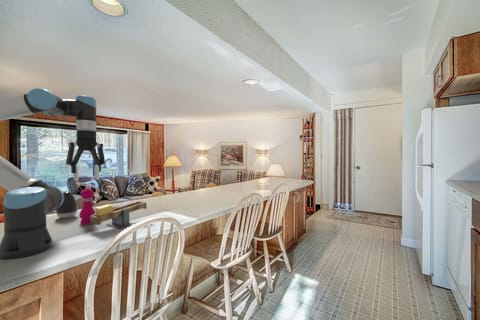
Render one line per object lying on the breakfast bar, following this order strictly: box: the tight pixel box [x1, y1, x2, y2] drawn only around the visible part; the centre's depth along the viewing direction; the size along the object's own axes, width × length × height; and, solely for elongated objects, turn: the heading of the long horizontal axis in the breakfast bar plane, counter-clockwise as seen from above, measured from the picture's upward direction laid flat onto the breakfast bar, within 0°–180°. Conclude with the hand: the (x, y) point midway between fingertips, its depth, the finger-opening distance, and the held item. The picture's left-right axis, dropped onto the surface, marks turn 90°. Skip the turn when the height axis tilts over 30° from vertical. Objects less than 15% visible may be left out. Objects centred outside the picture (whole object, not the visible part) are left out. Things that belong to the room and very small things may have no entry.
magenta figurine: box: [78, 185, 96, 226], centre depth 120 cm, size 7×7×20 cm
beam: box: [90, 200, 148, 226], centre depth 117 cm, size 26×7×4 cm, turn 149°
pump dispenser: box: [55, 191, 78, 220], centre depth 131 cm, size 10×10×15 cm
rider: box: [94, 204, 113, 217], centre depth 110 cm, size 6×4×4 cm, turn 149°
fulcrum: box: [106, 206, 134, 230], centre depth 117 cm, size 8×12×9 cm, turn 59°
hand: (86, 179), depth 103 cm, fingers open, 8 cm apart
